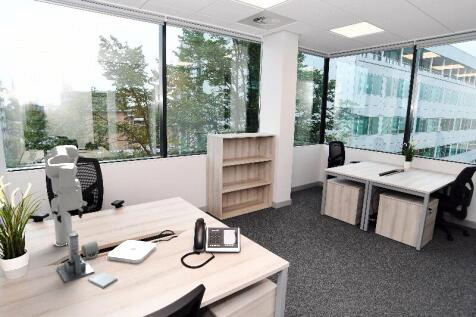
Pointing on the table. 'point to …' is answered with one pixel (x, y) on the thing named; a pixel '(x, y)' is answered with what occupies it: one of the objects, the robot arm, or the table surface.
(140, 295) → the table surface
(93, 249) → the ceramic mug
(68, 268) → the stand
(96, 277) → the hard drive
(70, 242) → the column
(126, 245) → the computer
